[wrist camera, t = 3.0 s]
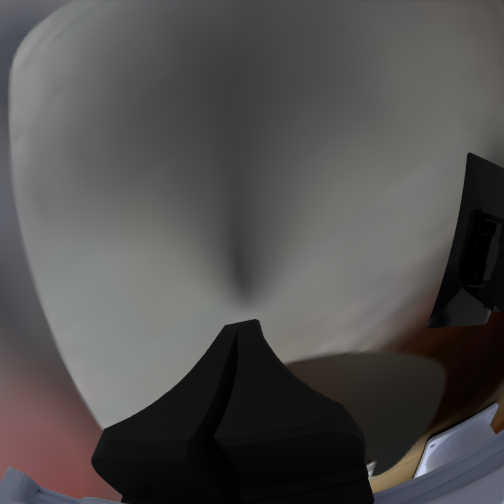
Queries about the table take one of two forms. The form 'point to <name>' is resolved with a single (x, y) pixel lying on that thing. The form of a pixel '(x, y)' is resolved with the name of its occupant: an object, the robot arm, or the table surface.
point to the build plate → (475, 251)
